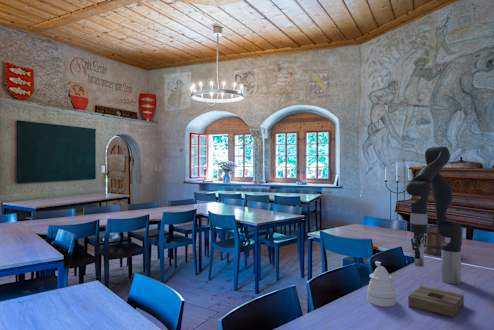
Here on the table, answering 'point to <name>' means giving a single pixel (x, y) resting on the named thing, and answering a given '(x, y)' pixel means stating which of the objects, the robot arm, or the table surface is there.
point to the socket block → (436, 301)
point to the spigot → (420, 261)
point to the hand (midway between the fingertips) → (419, 257)
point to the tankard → (433, 241)
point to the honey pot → (381, 287)
